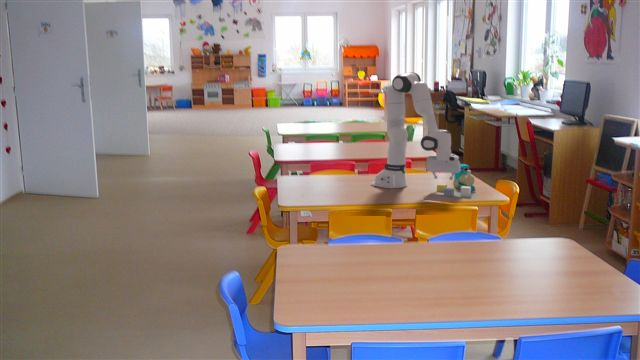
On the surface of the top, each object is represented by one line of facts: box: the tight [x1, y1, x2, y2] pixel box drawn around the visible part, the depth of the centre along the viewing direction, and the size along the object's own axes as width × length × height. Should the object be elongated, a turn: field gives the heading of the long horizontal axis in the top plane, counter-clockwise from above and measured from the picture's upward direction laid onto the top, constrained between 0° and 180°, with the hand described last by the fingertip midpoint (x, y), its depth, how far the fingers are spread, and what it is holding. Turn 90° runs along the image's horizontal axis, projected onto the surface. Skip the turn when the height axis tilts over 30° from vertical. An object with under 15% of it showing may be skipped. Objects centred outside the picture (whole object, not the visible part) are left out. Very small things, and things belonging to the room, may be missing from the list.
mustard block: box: [436, 183, 448, 193], centre depth 403 cm, size 5×5×5 cm
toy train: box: [453, 163, 476, 192], centre depth 409 cm, size 8×17×15 cm, turn 15°
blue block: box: [443, 187, 455, 197], centre depth 391 cm, size 5×5×5 cm
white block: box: [460, 186, 472, 197], centre depth 390 cm, size 5×5×5 cm
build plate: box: [452, 191, 479, 200], centre depth 391 cm, size 13×13×1 cm
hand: (443, 179), depth 401 cm, fingers open, 8 cm apart
